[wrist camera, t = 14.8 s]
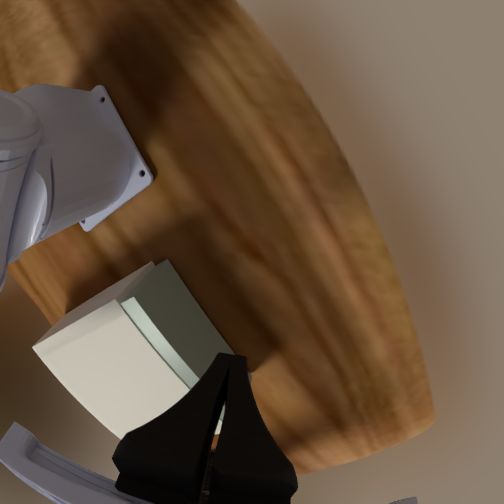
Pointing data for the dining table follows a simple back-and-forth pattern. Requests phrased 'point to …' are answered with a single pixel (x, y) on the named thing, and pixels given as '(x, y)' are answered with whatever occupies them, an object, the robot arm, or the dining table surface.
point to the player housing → (112, 361)
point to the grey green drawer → (175, 323)
